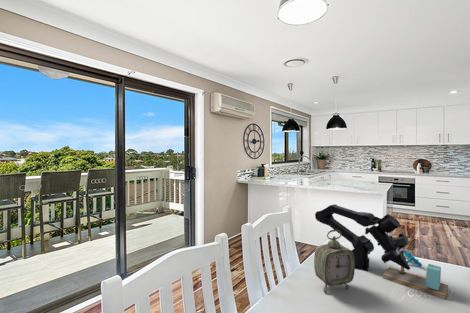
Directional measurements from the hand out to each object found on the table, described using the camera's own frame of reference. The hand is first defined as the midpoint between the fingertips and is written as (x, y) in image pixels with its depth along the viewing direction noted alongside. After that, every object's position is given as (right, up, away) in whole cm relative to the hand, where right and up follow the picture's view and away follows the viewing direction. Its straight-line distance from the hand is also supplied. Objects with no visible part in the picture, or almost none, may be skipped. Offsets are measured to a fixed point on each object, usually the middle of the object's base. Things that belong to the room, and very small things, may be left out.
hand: (409, 269), depth 109 cm
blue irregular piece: (+14, -6, +19) cm, 24 cm away
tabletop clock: (-35, -7, -3) cm, 36 cm away
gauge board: (+2, -7, +1) cm, 7 cm away
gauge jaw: (+7, -4, -5) cm, 9 cm away
